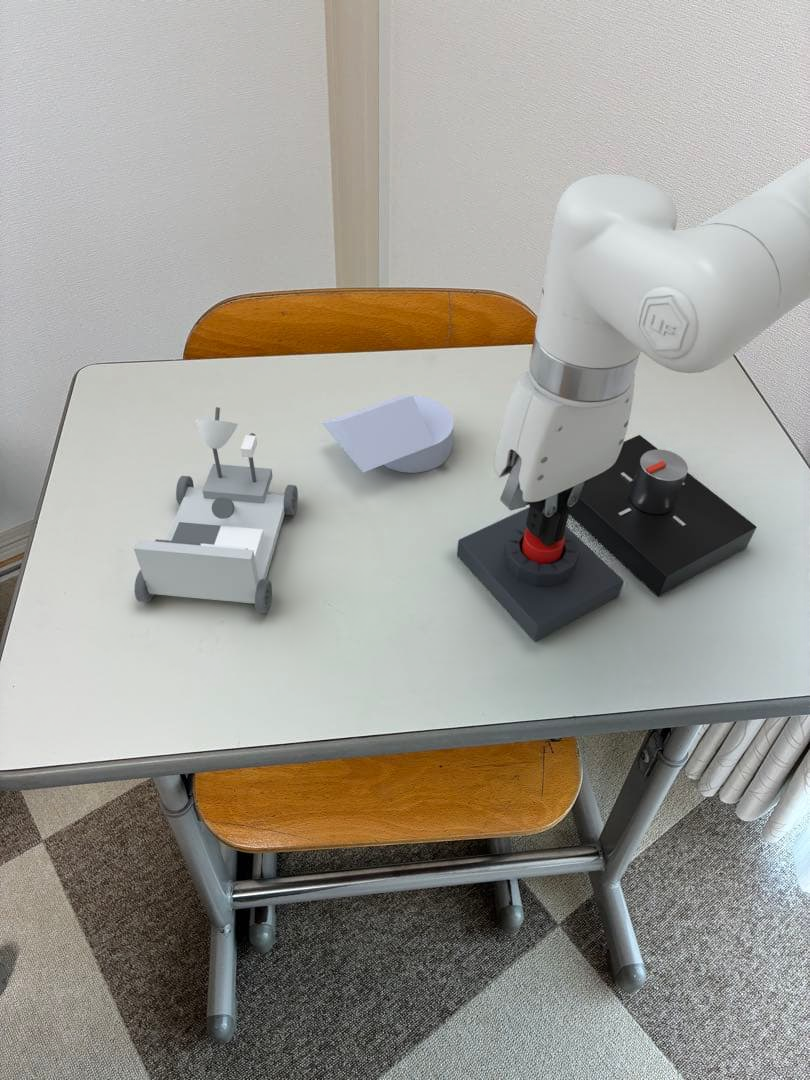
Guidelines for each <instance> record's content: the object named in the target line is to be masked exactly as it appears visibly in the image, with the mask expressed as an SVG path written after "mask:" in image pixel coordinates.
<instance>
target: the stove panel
mask: <svg viewBox="0 0 810 1080" xmlns="http://www.w3.org/2000/svg"><path fill="white" fill-rule="evenodd" d="M657 449H658V448H657V447H656V446H655V445H653V444H652V443H651V442H650V441H648V440H647V439H646V438H645V437H643V436H642V435H641V434H638V435H636V436H633V437H631V438H629V439H627V440H624V442H623V445H622V448H621V451H620V454H619V456H618V458H617V460H616V462H615V464H614V465H613V466H611V467H610V468H609V469H607V470H606V471H604V472H602V473H600V474H598V475H596V476H594V477H592V478H590V479H589V481H588V482H586V484H585V485H584V486H583V489H582V491H581V494H580V496H579V499H578V501H577V502H576V504H575V505H573V506H571V507H569V509H570V512H569V516H571V517H572V519H574V520H575V521H576V522H577V523H578V524H579V525H580V526H581V527H583V529H584V530H586V531H587V532H588V534H590V535H591V536H592V537H593V538H594V539H595V540H596V541H597V542H598V543H600V545H602V547H604V548H605V549H606V550H607V551H608V552H609V553H610V554H611V555H612V556H613V557H615V559H617V560H618V561H619V562H620V564H622V565H623V566H624V567H625V568H626V569H627V570H629V572H631V573H632V574H633V575H634V576H635V577H636V578H637V579H638V580H639V581H641V583H642V584H643V585H645V586H646V587H647V588H648V589H649V590H650V591H651V592H652V593H653V594H654V595H655V596H657V597H658V598H660V597H661V596H663V595H665V594H667V593H669V592H670V591H672V590H674V589H675V588H677V587H679V586H680V585H683V584H685V583H687V582H688V581H690V580H692V579H694V578H696V577H697V576H699V575H700V574H702V573H704V572H706V571H708V570H709V569H711V568H713V567H714V566H717V565H719V564H720V563H721V562H724V561H725V560H727V559H729V558H731V557H733V556H735V555H737V554H738V553H740V552H742V551H743V550H745V549H747V548H748V545H749V544H750V542H751V540H752V537H753V536H754V533H755V531H756V530H757V528H758V526H756V525H755V524H754V523H753V522H751V520H749V519H748V518H746V517H745V516H744V515H743V514H741V513H740V512H739V511H738V510H736V509H735V508H734V507H733V506H731V505H730V504H729V503H727V502H726V501H725V500H723V499H722V498H721V497H719V496H718V495H717V494H716V493H715V492H713V491H712V490H711V489H710V488H709V487H707V486H705V485H704V483H702V482H701V481H699V480H698V479H697V478H696V477H694V476H693V475H692V474H690V473H689V471H687V474H686V477H685V479H684V482H683V485H682V487H681V490H680V493H679V495H678V498H677V501H676V503H675V506H674V508H673V509H672V510H671V511H669V512H667V513H665V514H650V513H646V512H644V511H642V510H640V509H638V508H637V507H636V506H635V505H634V504H633V503H632V502H631V499H630V491H631V488H632V484H633V481H634V478H635V475H636V472H637V469H638V465H639V462H640V459H641V457H642V455H643V454H645V453H646V452H648V451H651V450H657Z"/></svg>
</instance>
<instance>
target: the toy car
mask: <svg viewBox="0 0 810 1080" xmlns="http://www.w3.org/2000/svg"><path fill="white" fill-rule="evenodd" d="M220 413H221V407H219V406H218V407H215V413H214V419H208V418H207V419H205V418H204V419H203V418H200V419H197V418H196V419H195V424H196V427H197V429H198V431H199V434H200V436H201V438H202V440H203V442H204V443H205V445H207V446H208V447H209V448H210V449H212V453H213V458H214V463H212V465H211V468H210V471H209V473H208V476H207V478H206V481H205V483H204V485H203V487H195V486H194V480H193V477H191V476H190V475H181V476H180V477H179V478H178V480H177V483H176V488H175V497H176V503H177V504H178V505H179V507H178V509H177V512H176V515H175V517H174V520H173V522H172V524H171V527H170V529H169V532H168V533H167V536H166V539H155V541H154V540H142V539H137V540H136V543H135V545H134V547H133V551H134V553H135V557H136V560H137V562H138V566H139V568H140V570H139V571H138V573H137V575H136V576H135V583H134V597H135V600H137V601H138V603H139V602H140V603H150V602H151V601H152V599H153V597H154V595H158V596H160V595H161V596H170V597H182V598H191V599H193V598H194V599H203V600H213V601H222V602H223V601H225V602H234V603H245V604H254V609H255V612H256V613H257V614H267V613H268V612H269V610H270V608H271V602H272V595H273V594H272V593H273V587H272V581H271V580H270V579H267V577H268V573H269V571H270V566H271V563H272V559H273V557H274V556H273V555H274V552H275V549H276V545H277V542H278V539H279V535H280V531H281V528H282V524H283V521H284V517H285V516H294V515H296V512H297V508H298V503H299V502H298V501H299V491H298V486H297V485H296V484H287V486H286V487H285V488H284V494H277V493H276V494H275V493H268V492H269V489H270V486H271V483H272V480H273V477H274V475H273V468H268V467H266V468H265V467H255V461H254V454H255V451H256V448H257V445H258V441H257V435H256V433H254V432H251V433H250V434H245V435H244V438H243V441H242V444H241V446H240V455H241V457H242V458H248V462H249V466H243V465H230V464H221V463H220V459H219V453H218V450H219V449H222V448H223V447H224V446H226V444H227V443H228V442H229V440H230V439H231V438H232V436H233V435H234V433H235V431H236V429H237V428H238V425H239V424H238V423H235V422H231V421H225V420H220Z"/></svg>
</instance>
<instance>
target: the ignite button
mask: <svg viewBox="0 0 810 1080" xmlns="http://www.w3.org/2000/svg"><path fill="white" fill-rule="evenodd" d="M564 542H565V537H564V536H563V539H562V540H561V541H559V542H554V543H553V544H552V545H550V546H548V547H547V546H545V545H544V544H543V543H542V542H541V541H540V540H539V539H538V538H537V537H535V536H534V535H533V534H532V533H531V532H530V531H529V529H528V528H527V529H526V531H525V534H524V539H523V545H522V550H523V553H524V554H525V556H526V557H527V558H528V559H529V560H531V561H533V562H536V563H539V564H550V563H553V562H555V561H557V560H558V559H559V558H560V556H561V554H562V550H563V546H564Z"/></svg>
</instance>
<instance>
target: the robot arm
mask: <svg viewBox="0 0 810 1080" xmlns="http://www.w3.org/2000/svg"><path fill="white" fill-rule="evenodd" d="M677 211H678V210H677V207H676V205H675V202H674V200H673V198H672V197H671V195H669V193H668V192H667V191H666V190H664V189H663V188H662V187H660V186H659V185H657V184H656V183H654V182H652V181H649V180H646V179H643V178H640V177H636V176H632V175H625V174H619V173H618V174H617V173H602V174H594V175H589V176H585V177H582V178H580V179H579V180H576V181H574V182H573V183H571V184H570V185H569V186H568V187H567V188H566V189H565V190H564V191H563V193H562V194H561V195H560V197H559V199H558V201H557V205H556V209H555V213H554V218H553V225H552V229H551V234H550V241H549V247H548V253H547V259H546V265H545V271H544V277H543V282H542V287H541V295H540V300H539V307H538V311H537V312H538V313H537V317H536V323H535V330H534V335H533V340H532V341H533V342H532V347H531V353H530V359H529V365H528V371H526V372H524V373H523V374H521V375H520V376H519V377H518V380H517V382H516V384H515V385H514V389H513V391H512V394H511V397H510V399H509V401H508V402H509V403H508V405H507V407H506V410H505V414H504V416H503V417H504V418H503V420H502V424H501V428H500V433H499V437H498V442H497V446H496V451H495V457H494V464H493V471H494V472H493V473H494V474H495V475H496V476H497V477H498V478H499V479H500V478H502V477H505V476H507V475H508V477H507V480H506V483H505V485H504V487H503V490H502V493H501V496H500V502H501V503H502V504H503V505H504V506H505V507H506V508H507V509H508V510H509V511H515V510H519V509H523V508H526V506H529V507H528V508H529V512H528V517H527V522H526V525H527V527H528V529H529V531H530V532H531V533H532V534H533V535H534V536H535V537H537V538H538V539H539V540H540V541H541V542H542V543H543V544H544V545H545V546H547V547H548V546H550V545H552V544H553V543H554V542H559V541H561V540H562V539H563V536H564V532H565V528H566V526H567V523H568V519H569V516H570V514H569V512H570V509H569V507H571V506H573V505H575V504H576V502H577V501H578V499H579V496H580V494H581V491H582V489H583V486H584V485H585V484H586V482H588V481H589V479H590V478H592V477H594V476H596V475H598V474H600V473H602V472H604V471H606V470H607V469H609V468H610V467H611V466H613V465H614V464H615V462H616V460H617V458H618V456H619V454H620V451H621V448H622V445H623V442H624V441H625V438H626V435H627V431H628V427H629V424H630V423H629V422H630V418H631V412H632V408H633V400H634V393H635V392H634V391H635V381H636V379H635V378H636V377H635V376H636V373H635V372H636V368H637V365H638V362H639V358H640V355H641V353H642V354H644V356H646V357H648V358H649V359H650V360H651V361H653V362H655V363H656V364H658V365H660V366H662V367H664V368H665V369H668V370H671V371H674V372H677V373H682V374H698V373H703V372H707V371H709V370H712V369H715V368H717V367H719V366H720V365H722V364H724V363H725V362H727V361H728V360H729V359H730V358H732V357H733V356H734V355H736V354H737V353H738V352H740V351H741V350H742V349H744V348H745V347H746V346H747V345H749V344H750V343H751V342H753V341H754V340H755V339H756V338H758V337H759V336H760V335H761V334H762V333H764V332H765V331H766V330H767V329H769V328H770V327H771V326H772V325H773V324H775V323H776V322H777V321H778V320H780V319H781V318H782V317H784V316H785V315H786V314H788V313H789V312H791V311H792V310H794V309H795V308H796V307H797V306H799V305H800V304H801V303H803V302H805V301H806V300H808V299H809V298H810V156H809V157H808V158H807V159H805V160H803V161H802V162H800V163H799V164H797V165H795V166H794V167H792V168H791V169H789V170H787V171H786V172H784V173H782V174H781V175H780V176H778V177H777V178H775V179H774V180H772V181H770V182H769V183H768V184H766V185H764V186H763V187H761V188H760V189H758V190H756V191H755V192H753V193H751V194H750V195H748V196H746V197H745V198H743V199H741V200H740V201H738V202H736V203H735V204H733V205H731V206H730V207H728V208H725V209H724V210H722V211H720V212H718V213H717V214H715V215H714V216H712V217H710V218H708V219H707V220H706V221H703V222H701V223H699V225H697V226H695V227H694V226H693V227H690V228H684V229H683V228H682V229H677V230H676V228H677V223H678V212H677Z"/></svg>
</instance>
